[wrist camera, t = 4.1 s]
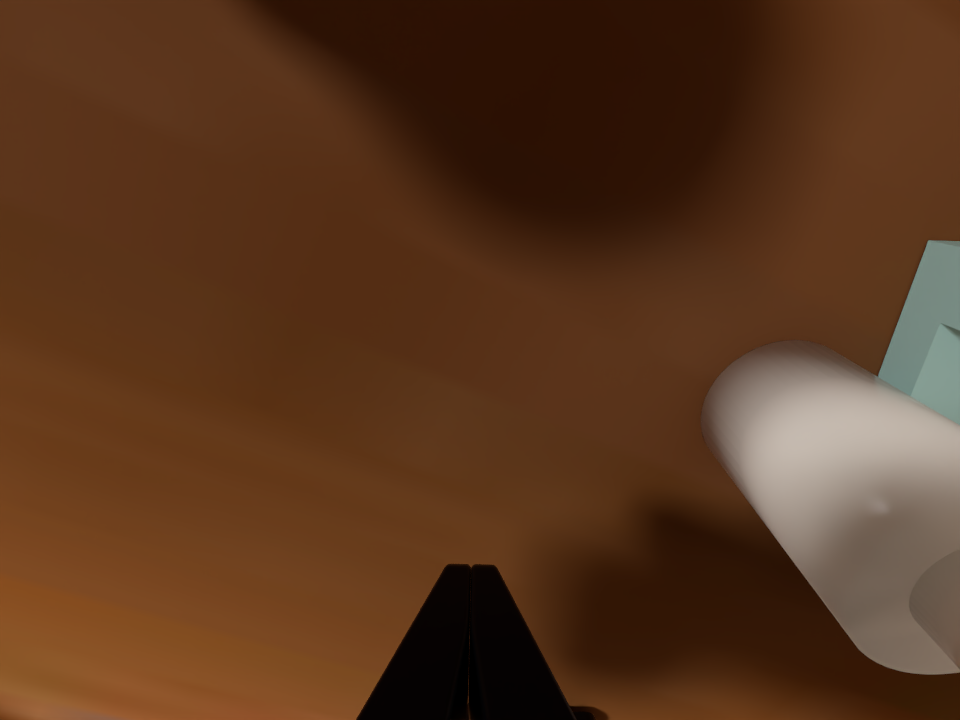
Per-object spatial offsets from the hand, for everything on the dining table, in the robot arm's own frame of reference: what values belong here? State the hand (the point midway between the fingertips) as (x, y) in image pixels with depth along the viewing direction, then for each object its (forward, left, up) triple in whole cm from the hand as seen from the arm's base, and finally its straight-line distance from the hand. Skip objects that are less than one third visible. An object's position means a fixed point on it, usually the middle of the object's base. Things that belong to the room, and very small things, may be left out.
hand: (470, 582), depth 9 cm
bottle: (0, -9, -7) cm, 11 cm away
